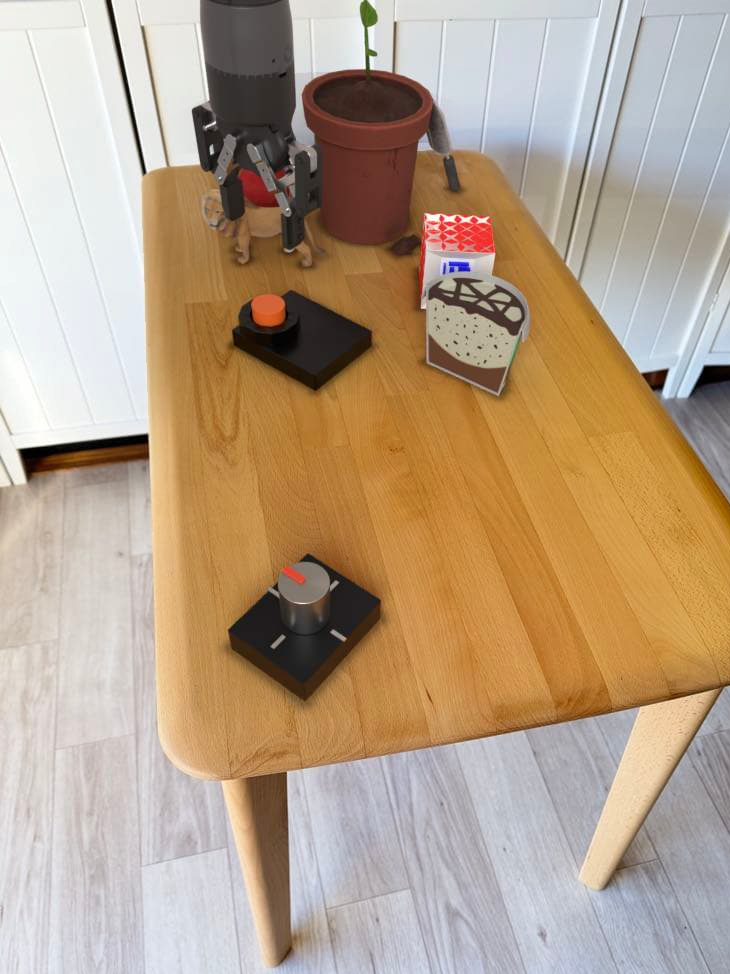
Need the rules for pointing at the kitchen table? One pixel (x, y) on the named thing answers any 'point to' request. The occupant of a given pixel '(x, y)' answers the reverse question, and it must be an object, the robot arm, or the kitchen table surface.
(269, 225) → the lion figurine
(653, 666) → the kitchen table surface
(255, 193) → the tomato
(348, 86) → the potted plant
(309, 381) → the black button box
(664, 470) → the kitchen table surface
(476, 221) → the red white box
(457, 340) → the food container
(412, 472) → the kitchen table surface
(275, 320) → the button
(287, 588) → the dial
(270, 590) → the dial panel
